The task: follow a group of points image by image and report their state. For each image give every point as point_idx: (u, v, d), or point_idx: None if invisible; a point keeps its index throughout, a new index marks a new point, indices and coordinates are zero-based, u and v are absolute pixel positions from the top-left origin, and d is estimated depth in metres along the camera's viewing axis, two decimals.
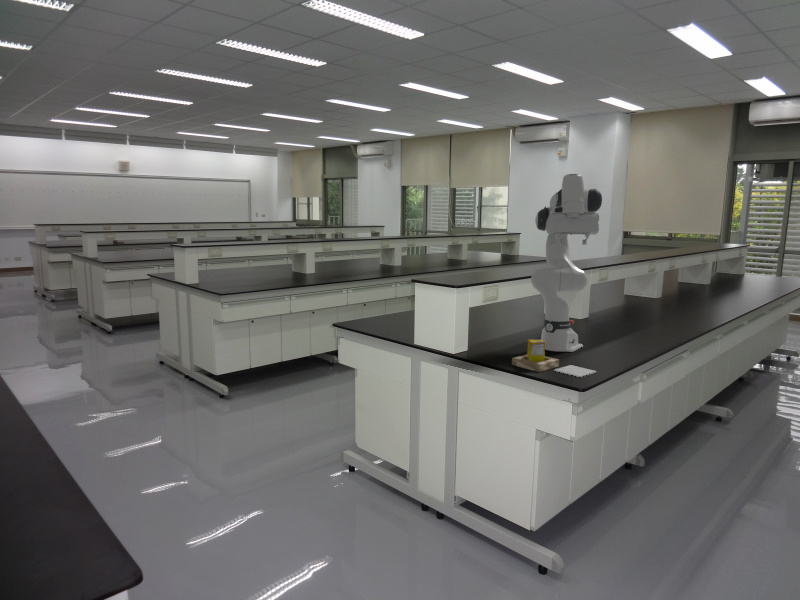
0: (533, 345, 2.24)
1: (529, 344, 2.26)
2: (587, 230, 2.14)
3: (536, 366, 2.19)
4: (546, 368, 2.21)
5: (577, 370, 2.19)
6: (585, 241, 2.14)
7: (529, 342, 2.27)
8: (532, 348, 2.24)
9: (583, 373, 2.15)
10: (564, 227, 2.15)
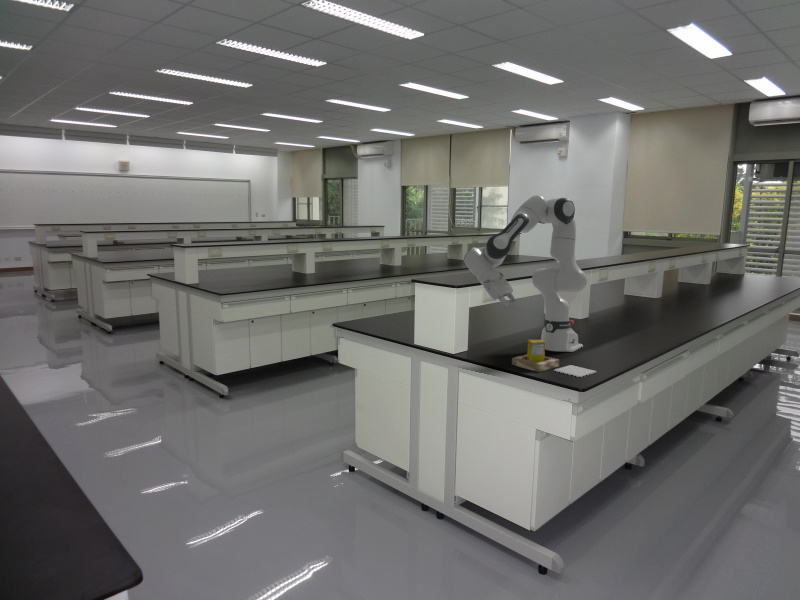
0: (533, 345, 2.24)
1: (529, 344, 2.26)
2: None
3: (536, 366, 2.19)
4: (546, 368, 2.21)
5: (577, 370, 2.19)
6: None
7: (529, 342, 2.27)
8: (532, 348, 2.24)
9: (583, 373, 2.15)
10: None
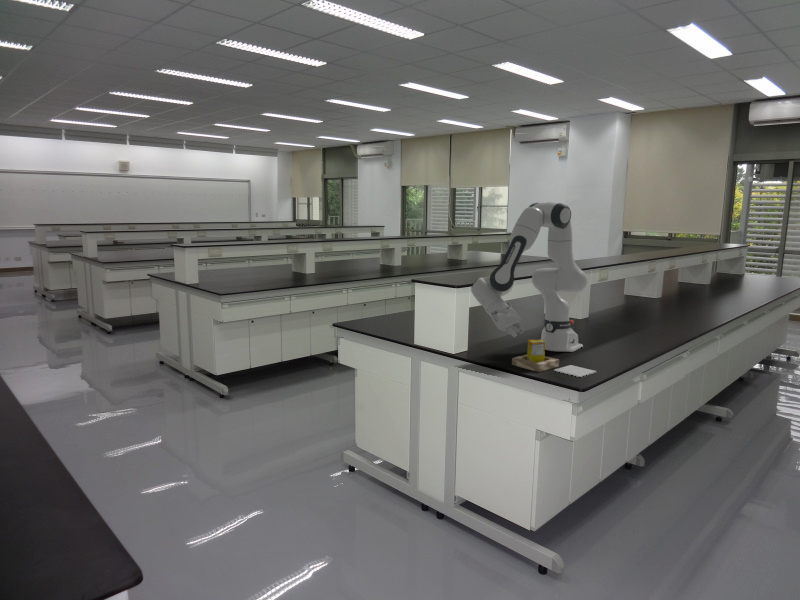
0: (533, 345, 2.24)
1: (529, 344, 2.26)
2: None
3: (536, 366, 2.19)
4: (546, 368, 2.21)
5: (577, 370, 2.19)
6: None
7: (529, 342, 2.27)
8: (532, 348, 2.24)
9: (583, 373, 2.15)
10: None
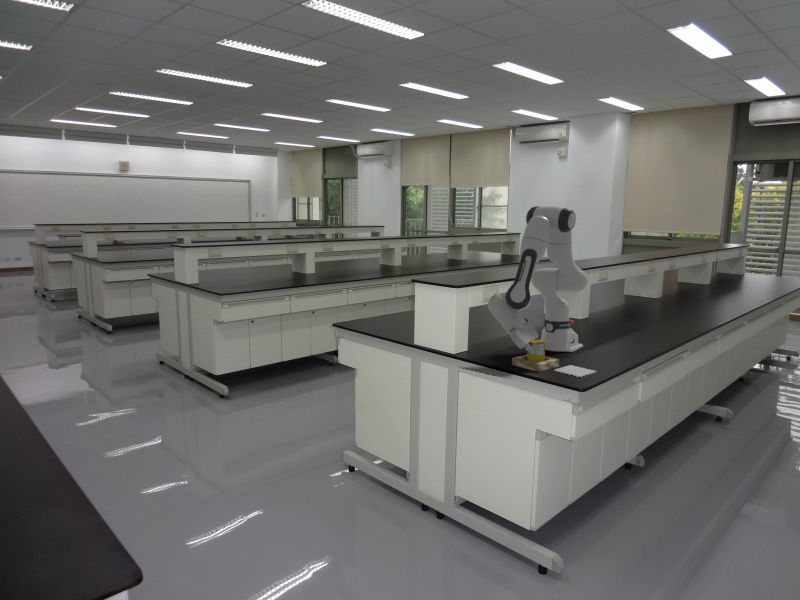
0: (533, 345, 2.24)
1: (529, 344, 2.26)
2: None
3: (536, 366, 2.19)
4: (546, 368, 2.21)
5: (577, 370, 2.19)
6: None
7: None
8: None
9: (583, 373, 2.15)
10: None
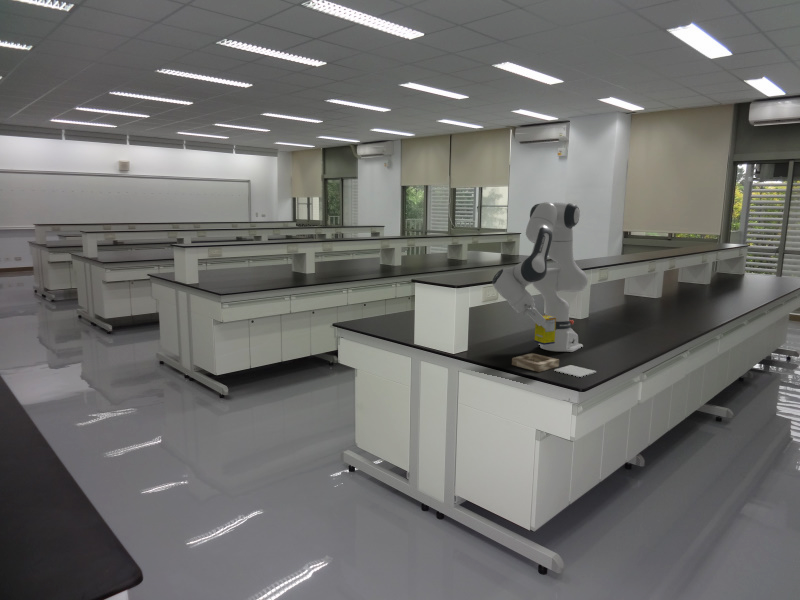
0: (546, 321, 2.14)
1: None
2: None
3: (536, 366, 2.19)
4: (546, 368, 2.21)
5: (577, 370, 2.19)
6: None
7: None
8: None
9: (583, 373, 2.15)
10: None
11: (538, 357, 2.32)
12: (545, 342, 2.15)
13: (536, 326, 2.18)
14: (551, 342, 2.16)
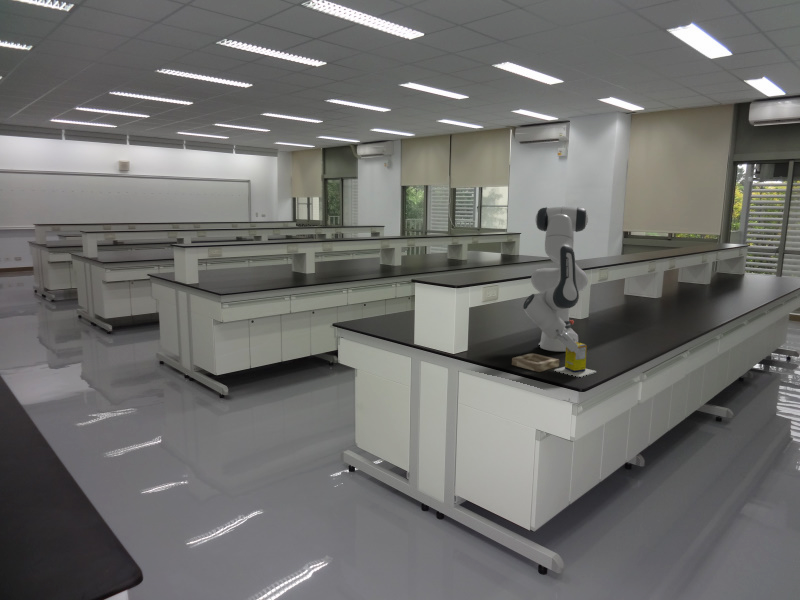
0: None
1: None
2: None
3: (536, 366, 2.19)
4: (546, 368, 2.21)
5: None
6: (577, 354, 2.13)
7: None
8: None
9: (583, 373, 2.15)
10: None
11: (538, 357, 2.32)
12: (575, 370, 2.16)
13: (566, 353, 2.19)
14: (582, 370, 2.17)
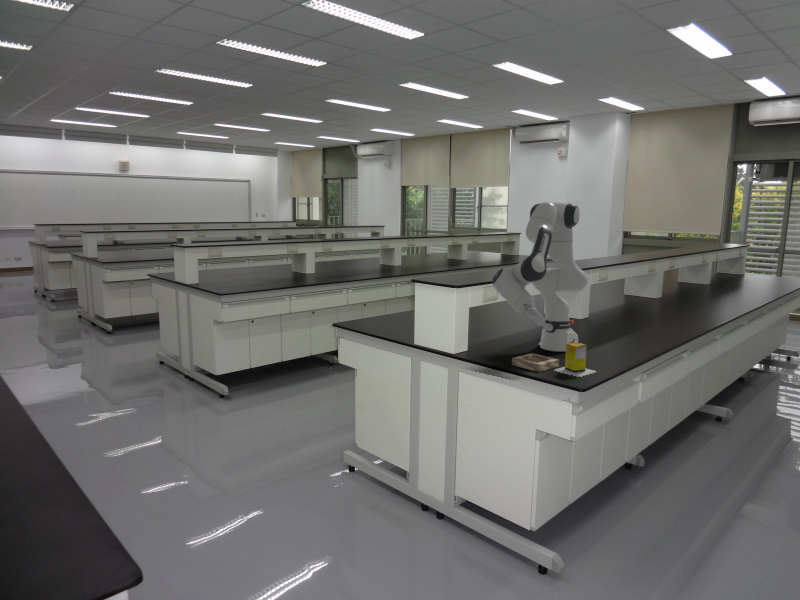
0: (577, 349, 2.15)
1: (570, 348, 2.17)
2: None
3: (536, 366, 2.19)
4: (546, 368, 2.21)
5: None
6: (545, 329, 2.13)
7: (570, 346, 2.17)
8: (576, 352, 2.15)
9: (583, 373, 2.15)
10: None
11: (538, 357, 2.32)
12: (575, 370, 2.16)
13: (566, 353, 2.19)
14: (582, 370, 2.17)
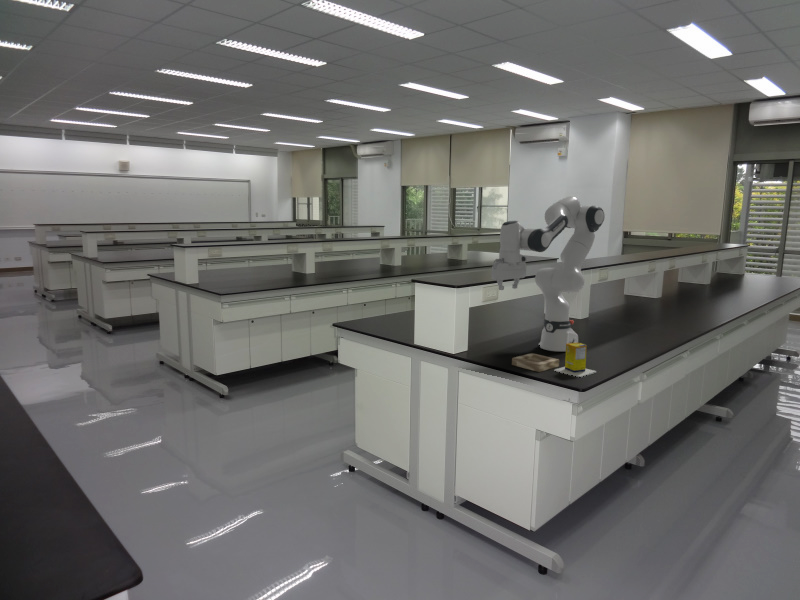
0: (577, 349, 2.15)
1: (570, 348, 2.17)
2: None
3: (536, 366, 2.19)
4: (546, 368, 2.21)
5: None
6: None
7: (570, 346, 2.17)
8: (576, 352, 2.15)
9: (583, 373, 2.15)
10: None
11: (538, 357, 2.32)
12: (575, 370, 2.16)
13: (566, 353, 2.19)
14: (582, 370, 2.17)
